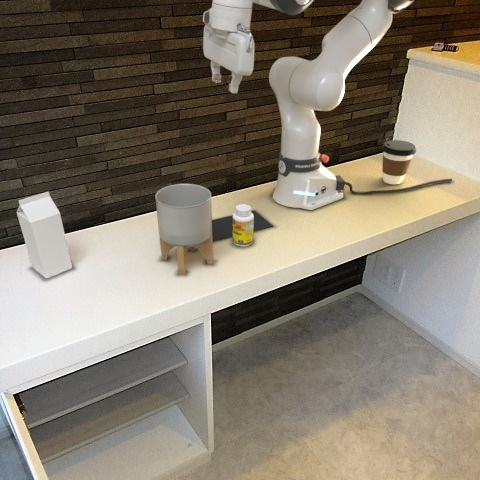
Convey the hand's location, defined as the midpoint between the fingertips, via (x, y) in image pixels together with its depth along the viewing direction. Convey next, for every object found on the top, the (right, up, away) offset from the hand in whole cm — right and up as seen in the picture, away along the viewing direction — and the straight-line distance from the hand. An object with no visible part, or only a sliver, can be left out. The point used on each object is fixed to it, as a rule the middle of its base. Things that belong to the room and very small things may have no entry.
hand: (224, 87), depth 119 cm
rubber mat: (+2, -29, +22) cm, 37 cm away
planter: (-10, -41, +7) cm, 43 cm away
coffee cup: (+55, -9, +49) cm, 74 cm away
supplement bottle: (+5, -35, +15) cm, 38 cm away
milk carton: (-43, -43, +4) cm, 61 cm away
